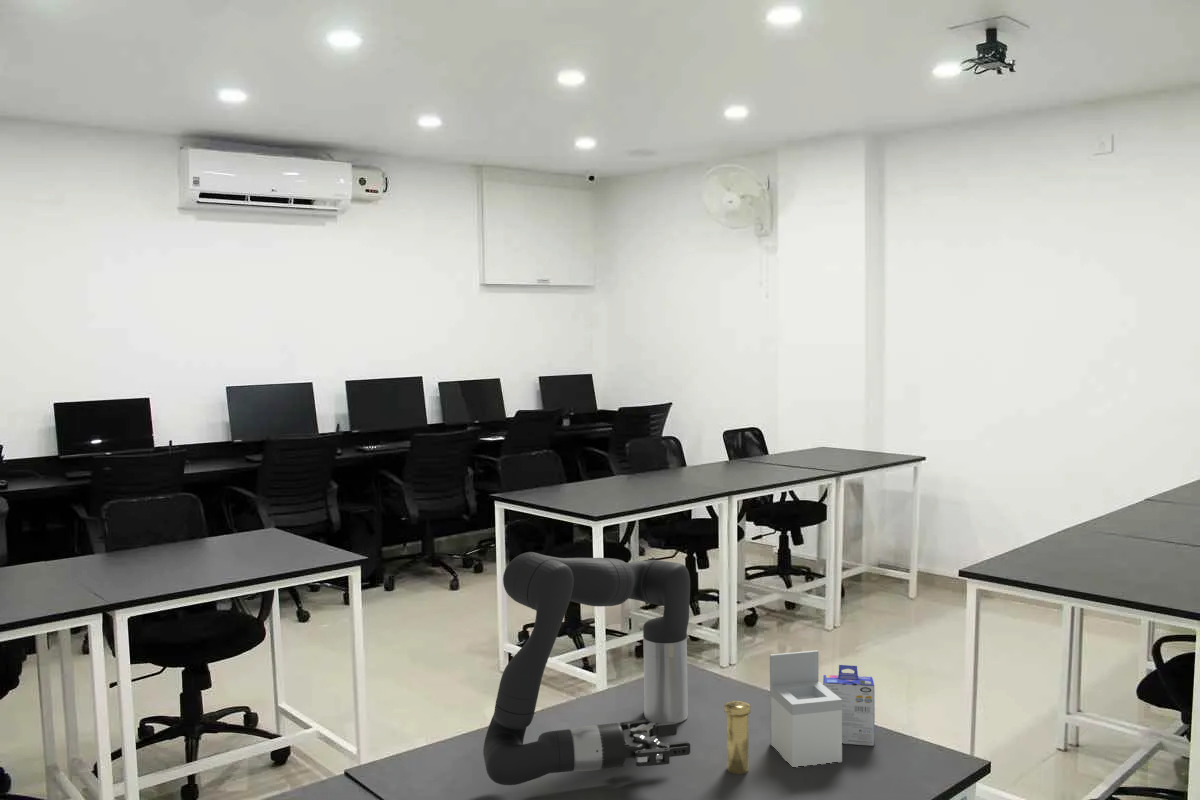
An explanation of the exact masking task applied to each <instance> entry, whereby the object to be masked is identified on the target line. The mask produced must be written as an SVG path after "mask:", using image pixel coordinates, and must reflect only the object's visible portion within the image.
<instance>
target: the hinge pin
mask: <svg viewBox="0 0 1200 800" xmlns="http://www.w3.org/2000/svg"><path fill="white" fill-rule="evenodd" d="M723 705H724V707H723V708H724V709H723V710H724V713H725V714H726V770H727V771H728V772H729V773H731V774H735V775H742V774H746V773H748V772H749V770H750V769H749V768H750V766H749V765H750V764H749V763H750V762H749V761H750V760H749V759H750V758H749V755H750V754H749V751H750V750H749V748H750V747H749V745H750V743H749V739H750V738H749V736H750V735H749V715H750V714H751V706H752V705H751V704H750V703H748V702H745V701H741V700H732V701H727V702H725V703H724V704H723Z"/></svg>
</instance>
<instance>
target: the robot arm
mask: <svg viewBox="0 0 1200 800" xmlns="http://www.w3.org/2000/svg"><path fill="white" fill-rule="evenodd" d="M502 575H503V577H502V584H503V588H504V590H505V592H506V594H507V595H508V597H510V599H512V600H513V601H514V602H516V603H518V604H520V605H523V606H524V607H525V606H526V607H527V608H530V609H532V610H534V611H536V613H535V619H534V625H533V628H532V631H531V634H530V635H529V637H528V639H527V640H526V642H525V643H524V644H523V646H521V648H520V649H519V650H518V651H517V652H516V654H515V655H513V657H512V658H511V660H510V661H509V662H508V663H507V665H506V666H505V669H504V670H503V672H502V674H501V678H500V681H499V686H498V690H497V694H496V700H495V705H494V711H493V715H492V717H491V720H490V722H489V725H488V728H487V730H486V731H487V732H486V734H485V739H484V742H483V749H482V751H483V760H484V764H485V770H486V774H487V776H488V777H489V778H490V780H492V781H493V782H494V783H496V784H498V785H502V786H516V785H520V784H524V783H527V782H530V781H532V780H536V779H539V778H541V777H544V776H546V775H548V774H555V773H557V774H558V773H565V772H566V773H567V772H588V771H597V770H599V771H600V770H606V769H607V770H609V769H616V768H622V767H624V765H625V763H626V760H627V759H628V758H629V759H635V765H636V767H650V766H664V765H670V760H671V757H672V758H673V757H681V756H688V755H690V754H691V743H690V742H689V740H688V741H686V740H685V741H677V742H675V741H674V742H669V743H667V742H662V741H659V739H658V738H664V737H675V736H676V735H677V734H678V732H677V728H678V727H677V724H679V723H682V722H684V721H686V720H687V719H688V717H689V716H688V715H689V714H688V644H687V643H688V640H687V639H688V638H687V637H688V632H687V631H688V627H689V626H688V625H689V623H690V622H689V620H690V604H691V603H690V602H691V601H690V599H691V598H690V597H691V576H690V572H689V570H688V568H687V567H686V565H684V564H682V563H680V562H679V563H678V562H672V561H666V560H660V559H659V560H658V559H648V560H647V559H646V560H639V561H634V562H625V561H624V560H622V559H618V558H610V557H565V558H564V557H557V556H551V555H545V554H541V553H538V552H533V551H528V552H524V553H521V554H519V555H517V556H516V557H514V558H513V559H512V560H511V561H510V562H508V564H507V566H506V568H505V570H504V572H503V574H502ZM628 600H634V601H640V602H643V603H646V604H651V605H656V606H657V605H658V606H663V615H662V616H659V617H655V618H651V619H648V620H647V621H645V622H644V624H643V628H642V635H643V636H642V639H643V641H642V643H643V644H642V645H643V646H642V647H643V648H642V649H643V709H644V710H643V711H644V713H643V715H644V718H645V719H638V720H628V721H624V722H623V721H622V722H619V723H618V722H613V723H603V724H594V725H582V726H577V727H575V728H570V729H569V728H568V729H567V728H566V729H557V730H549V731H546V732H542V733H541V734H540V735H539V736H538V739H537V740H536V741H531V742H528V743H524V738H525V735H526V730H527V727H529V726H530V725H531V724H532V722H533V719H534V715H535V711H536V707H537V703H538V698H539V697H538V696H539V692H540V688H541V683H542V679H543V675H544V674H545V673H544V672H545V670H546V669H545V668H546V666H547V664H548V661H549V657H550V655H551V653H552V650H553V648H554V645H555V642H556V641H557V640H556V639H557V637H558V634H559V632H560V631H561V630H560V629H561V626H562V623H563V621H564V619H565V616H566V614H567V610H568V607H569V605H570V602H573V603H577V604H580V605H585V606H589V607H614V606H615V607H616V606H618V605H621V604H623V603H624V602H626V601H628ZM656 737H657V738H656Z"/></svg>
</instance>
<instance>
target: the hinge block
mask: <svg viewBox="0 0 1200 800" xmlns="http://www.w3.org/2000/svg"><path fill="white" fill-rule="evenodd" d="M769 731H770V732H769V742H770V743H769V744H771V745H772V746H773V747H774V748H775V749H776V750H777V751H778V752H779V753H780V754H781V755H782V756H781V755H780V754H779V753H778V752H777V751H776V750H775V749H774V748H773V747H772V746H771V745H770V746H771V747H772V748H773V749H774V750H775V751H776V752H777V753H778V754H779V755H780V756H781V757H782V758H783V760H785V762H786V761H787V762H788V763H789V764H790V765H791V766H792V767H796V768H799V767H798V766H804V767H808V766H807V765H813V766H818V765H817V764H821V765H827V764H826V763H830V764H833V763H832V762H838V763H843V744H842V699H841V698H839V697H838V696H837V695H836V694H834V693H833V692H832V691H830V690H829V689H828V688H827V687H825V686H824V685H823V683H822V682H821V681H819V650H816V649H815V650H807V651H806V650H805V651H797V652H796V651H794V652H786V653H785V652H784V653H783V652H782V653H773V654H769ZM787 762H786V763H787ZM788 763H787V764H788ZM789 764H788V765H789ZM790 765H789V766H790ZM791 766H790V767H791ZM792 767H791V768H792Z"/></svg>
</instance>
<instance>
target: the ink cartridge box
mask: <svg viewBox="0 0 1200 800" xmlns="http://www.w3.org/2000/svg"><path fill="white" fill-rule="evenodd" d="M843 670H851V671H854V673H853V672H843ZM858 673H859V672H858V665H848V664H838V675H832V674H830V675H829V674H823V679H822V680H823V681H822V682H823V683H822V684H823V685H824V686H825V687H827V688H828V689H829V690H830V691H832V692H833V693H834V694H836V695H837V696H838V697H839V698H841V699H842V743H843V744H845V745H857V746H869V747H870V746H875V716H876V715H875V714H876V713H875V710H876V709H875V703H876V699H875V682H874V678H873V677H872V676H863V675H862V676H860V675H859V674H858ZM843 744H842V745H843Z"/></svg>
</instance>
